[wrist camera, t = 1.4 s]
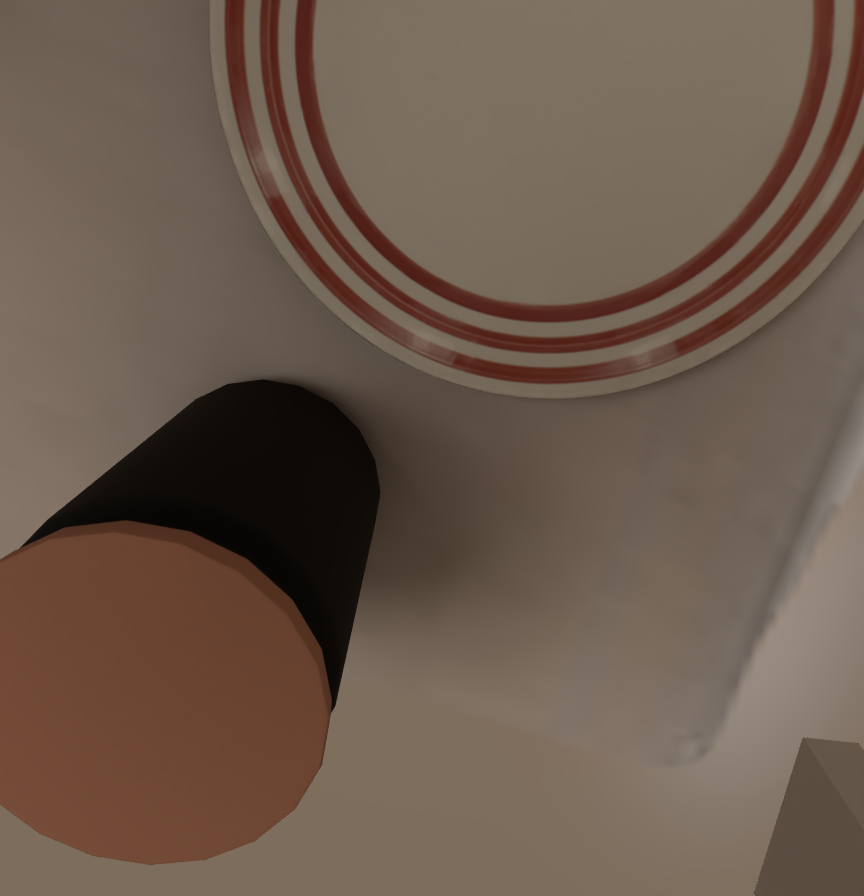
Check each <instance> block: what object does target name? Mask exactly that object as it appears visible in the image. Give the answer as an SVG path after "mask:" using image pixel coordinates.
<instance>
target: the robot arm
mask: <svg viewBox="0 0 864 896" xmlns="http://www.w3.org/2000/svg"><path fill="white" fill-rule="evenodd" d="M754 894H755V896H864V750H863V749H862V747H861V746H860V745H859V743H850V742H840V741H831V740H821V739H811V738H803V739H802V742H801V746H800V748H799V752H798V755H797V758H796V761H795V764H794V767H793V771H792V774H791V777H790V780H789V783H788V786H787V790H786V793H785V796H784V799H783V802H782V806H781V809H780V812H779V815H778V818H777V821H776V825H775V828H774V831H773V835H772V837H771V841H770V844H769V847H768V850H767V853H766V857H765V859H764V863H763V866H762V869H761V872H760V875H759V879H758V882H757V885H756V888H755V891H754Z"/></svg>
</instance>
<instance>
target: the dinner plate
mask: <svg viewBox="0 0 864 896" xmlns="http://www.w3.org/2000/svg"><path fill="white" fill-rule="evenodd" d="M209 36H210V53H211V63H212V72H213V82H214V88H215V93H216V99H217V105H218V110H219V114H220V118H221V123H222V127H223V131H224V134H225V138H226V141H227V144H228V148H229V151H230V154H231V156H232V159H233V162H234V165H235V168H236V171H237V174H238V177H239V179H240V181H241V184H242V186H243V188H244V190H245V192H246V195H247V197H248V199H249V201H250V203H251V205H252V207H253V209H254V211H255V213H256V215H257V217H258V219H259V221H260V223H261V224H262V226H263V228H264V230H265V232H266V233H267V235H268V236H269V238H270V239H271V241H272V243H273V244H274V246H275V247H276V249H277V250H278V252H279V253H280V255H281V256H282V257H283V259H284V260H285V262H286V263H287V264H288V266H289V267H290V268H291V270H292V271H293V272H294V273H295V275H296V276H297V277H298V278H299V279H300V280H301V282H302V283H303V284H304V285H305V286H306V287H307V289H308V290H309V291H310V292H311V293H312V294H313V295H314V296H315V297H316V298H317V299H318V300H319V301H320V302H321V303H322V304H323V305H324V306H325V307H326V308H327V309H328V310H329V311H331V312H332V313H333V314H334V315H335V316H336V317H337V318H338V319H340V320H341V321H342V322H343V323H344V324H345V325H346V326H348V327H349V328H350V329H352V330H353V331H354V332H356V333H357V334H358V335H360V336H361V337H362V338H364V339H365V340H367V341H368V342H370V343H371V344H372V345H374V346H376V347H377V348H379V349H381V350H382V351H384V352H385V353H387V354H389V355H390V356H392V357H394V358H396V359H398V360H399V361H401V362H403V363H405V364H407V365H409V366H411V367H413V368H415V369H417V370H420V371H422V372H425V373H427V374H429V375H432V376H434V377H437V378H439V379H442V380H444V381H447V382H450V383H453V384H457V385H460V386H463V387H467V388H471V389H475V390H479V391H483V392H488V393H494V394H500V395H506V396H514V397H525V398H542V399H562V398H581V397H590V396H598V395H605V394H610V393H615V392H620V391H625V390H630V389H633V388H637V387H641V386H644V385H648V384H651V383H654V382H657V381H660V380H663V379H666V378H668V377H671V376H673V375H676V374H678V373H681V372H684V371H686V370H688V369H691V368H693V367H695V366H698V365H700V364H702V363H704V362H706V361H708V360H710V359H712V358H714V357H715V356H717V355H719V354H721V353H722V352H724V351H726V350H728V349H729V348H731V347H733V346H734V345H736V344H737V343H739V342H741V341H742V340H744V339H745V338H747V337H748V336H750V335H751V334H753V333H754V332H755V331H757V330H758V329H760V328H761V327H762V326H764V325H765V324H766V323H768V322H769V321H770V320H772V319H773V318H774V317H775V316H777V315H778V314H779V313H780V312H782V311H783V310H784V309H785V308H786V307H788V306H789V305H790V304H791V303H792V302H793V301H794V300H795V299H797V298H798V297H799V296H800V295H801V294H802V293H803V292H804V291H805V290H806V289H807V288H808V287H809V286H810V285H811V284H812V283H813V282H814V281H815V280H816V279H817V278H818V277H819V276H820V275H821V274H822V272H823V271H824V270H825V269H826V268H827V267H828V266H829V264H830V263H831V262H832V261H833V260H834V259H835V258H836V256H837V255H838V254H839V253H840V251H841V250H842V249H843V248H844V246H845V245H846V244H847V243H848V241H849V240H850V239H851V237H852V236H853V235H854V233H855V232H856V231H857V229H858V228H859V226H860V225H861V223H862V222H863V220H864V0H209Z"/></svg>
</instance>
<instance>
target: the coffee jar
mask: <svg viewBox="0 0 864 896" xmlns="http://www.w3.org/2000/svg"><path fill="white" fill-rule="evenodd" d="M379 498H380V488H379V482H378V476H377V469H376V463H375V459H374V457H373V455H372V453H371V451H370V449H369V448H368V446H367V444H366V442H365V440H364V438H363V436H362V434H361V432H360V430H359V429H358V428H357V427H356V426H355V425H354V424H353V423H352V422H351V421H350V420H349V419H348V418H347V417H346V416H345V415H344V414H343V413H342V412H341V411H340V410H339V409H338V408H337V407H336V406H335V405H334V404H333V403H331V402H329V401H327V400H325V399H323V398H322V397H320V396H318V395H316V394H314V393H312V392H310V391H308V390H306V389H304V388H302V387H300V386H296V385H291V384H285V383H280V382H274V381H269V380H256V381H248V382H240V383H232V384H227V385H225V386H222V387H220V388H218V389H216V390H214V391H212V392H210V393H208V394H206V395H204V396H202V397H200V398H198V399H196V400H195V401H193V402H192V403H191V404H190V405H188V406H187V407H186V408H185V409H183V410H182V411H181V412H180V413H178V414H177V415H176V416H175V417H174V418H172V419H171V420H170V421H169V422H167V423H166V424H165V425H164V426H162V427H161V428H160V429H159V430H158V431H156V432H155V433H154V434H153V435H151V436H150V437H149V438H148V439H146V440H145V441H144V442H143V443H142V444H140V445H139V446H138V447H137V448H135V449H134V450H133V451H132V452H130V453H129V454H128V455H127V456H126V457H124V458H123V459H122V460H121V461H119V462H118V463H117V464H116V465H114V466H113V467H112V468H111V469H110V470H108V471H107V472H106V473H105V474H103V475H102V476H101V477H100V478H98V479H97V480H96V481H95V482H94V483H92V484H91V485H90V486H89V487H87V488H86V489H85V490H84V491H82V492H81V493H80V494H79V495H77V496H76V497H75V498H74V499H73V500H71V501H70V502H69V503H68V504H66V505H65V506H64V507H63V508H61V509H60V510H59V511H58V512H57V513H55V514H54V515H53V516H52V517H50V518H49V519H48V520H47V521H46V522H45V523H44V524H43V525H42V526H41V527H40V528H39V529H38V530H37V531H36V532H35V533H34V534H33V535H32V536H31V537H30V538H29V539H28V540H27V541H26V542H25V543H24V544H23V545H22V546H21V547H20V548H19V549H18V550H15V551H13V552H12V553H10V554H8V555H7V556H5V557H4V558H2V559H0V805H1V806H3V807H4V808H6V809H7V810H8V811H10V812H11V813H12V814H14V815H15V816H17V817H18V818H19V819H20V820H22V821H23V822H25V823H26V824H27V825H29V826H30V827H31V828H33V829H34V830H35V831H37V832H38V833H39V834H42V835H44V836H47V837H49V838H51V839H54V840H56V841H59V842H61V843H63V844H66V845H69V846H71V847H73V848H75V849H78V850H80V851H83V852H85V853H88V854H90V855H92V856H97V857H104V858H110V859H116V860H123V861H129V862H136V863H142V864H148V865H153V864H164V863H175V862H186V861H197V860H206V859H208V858H211V857H214V856H217V855H219V854H222V853H224V852H227V851H230V850H232V849H235V848H238V847H240V846H243V845H246V844H248V843H251V842H254V841H255V840H257V839H258V838H259V837H261V836H262V835H263V834H264V833H265V832H267V831H268V830H269V829H271V828H272V827H273V826H274V825H276V824H277V823H278V822H279V821H281V820H282V819H283V818H284V817H286V816H287V815H288V814H289V813H291V812H292V811H293V810H294V809H295V808H296V807H297V805H298V803H299V802H300V800H301V798H302V797H303V795H304V794H305V792H306V790H307V789H308V787H309V785H310V784H311V782H312V781H313V779H314V777H315V776H316V774H317V772H318V771H319V769H320V767H321V766H322V762H323V756H324V750H325V744H326V739H327V733H328V727H329V721H330V715H331V712H332V711H333V709H334V707H335V705H336V700H337V696H338V691H339V687H340V682H341V678H342V673H343V668H344V664H345V659H346V655H347V650H348V645H349V641H350V636H351V632H352V627H353V622H354V618H355V613H356V608H357V604H358V599H359V595H360V590H361V585H362V581H363V576H364V572H365V567H366V562H367V558H368V553H369V549H370V544H371V539H372V535H373V530H374V526H375V520H376V514H377V509H378V503H379Z"/></svg>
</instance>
